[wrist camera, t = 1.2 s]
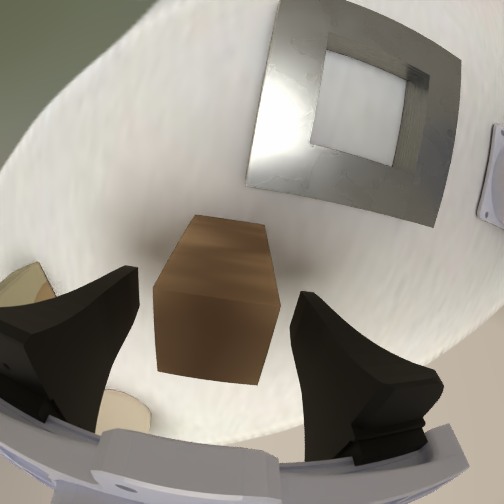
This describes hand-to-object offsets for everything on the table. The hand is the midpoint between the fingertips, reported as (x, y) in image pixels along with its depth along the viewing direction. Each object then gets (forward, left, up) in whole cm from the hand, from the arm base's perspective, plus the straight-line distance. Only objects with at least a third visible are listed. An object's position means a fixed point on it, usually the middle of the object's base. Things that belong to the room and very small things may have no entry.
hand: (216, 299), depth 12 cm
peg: (0, 0, -5) cm, 5 cm away
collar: (-6, -10, -5) cm, 13 cm away
